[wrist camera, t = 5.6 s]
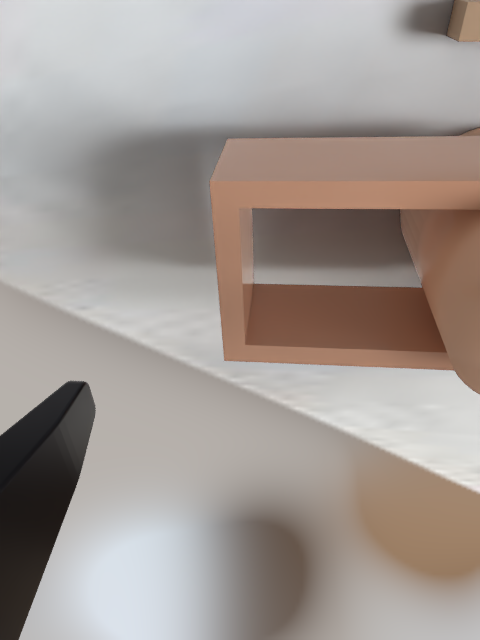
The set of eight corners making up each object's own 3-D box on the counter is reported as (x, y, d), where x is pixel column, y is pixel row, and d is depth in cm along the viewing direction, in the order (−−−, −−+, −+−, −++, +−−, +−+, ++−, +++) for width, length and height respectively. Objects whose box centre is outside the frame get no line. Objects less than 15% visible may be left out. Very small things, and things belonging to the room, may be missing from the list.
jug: (640, 115, 16) (857, 212, 10) (564, 279, 20) (683, 420, 14) (234, 121, 18) (198, 207, 11) (241, 272, 22) (217, 396, 16)
